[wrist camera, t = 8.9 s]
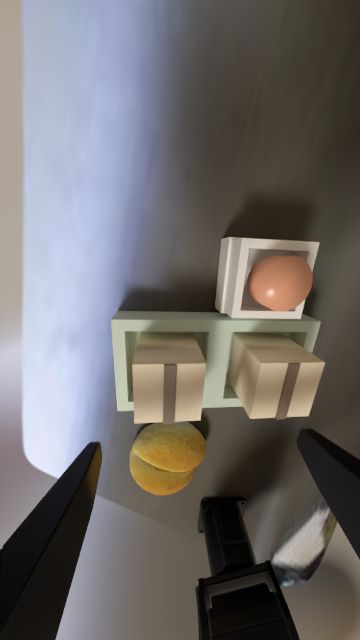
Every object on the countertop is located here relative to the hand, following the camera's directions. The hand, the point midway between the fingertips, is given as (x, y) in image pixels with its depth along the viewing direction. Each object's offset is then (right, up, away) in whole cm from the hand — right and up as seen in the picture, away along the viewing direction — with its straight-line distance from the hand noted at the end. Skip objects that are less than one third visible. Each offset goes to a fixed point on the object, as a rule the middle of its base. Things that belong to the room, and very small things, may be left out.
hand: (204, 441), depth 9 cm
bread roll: (-3, -10, +16) cm, 19 cm away
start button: (+6, +8, +6) cm, 12 cm away
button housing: (+5, +9, +9) cm, 14 cm away
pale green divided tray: (+2, +2, +12) cm, 12 cm away
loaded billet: (+6, +2, +12) cm, 13 cm away
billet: (-2, +2, +11) cm, 11 cm away
